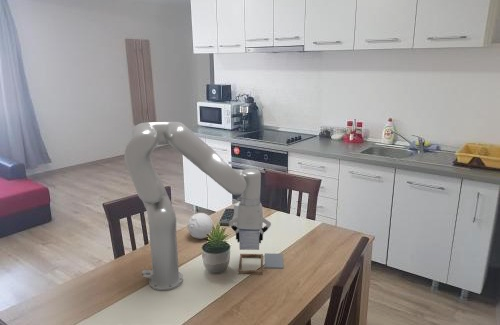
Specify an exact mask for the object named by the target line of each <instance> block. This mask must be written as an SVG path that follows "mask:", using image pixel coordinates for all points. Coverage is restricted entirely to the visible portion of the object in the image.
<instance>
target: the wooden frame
mask: <svg viewBox="0 0 500 325" xmlns="http://www.w3.org/2000/svg"><path fill="white" fill-rule="evenodd" d="M263 257H264V254H263V253H240V256H239V260H238V261H239V262H238V268H237V269H238V270H237V272H238V273H237V274H238V275H240V276H241V275H243V276H244V275H245V276H247V275H249V276H253V275H254V276H262V275H264V272H263V269H264V258H263ZM243 259H260V270H259V269H258V270H256V269H255V270H253V269H252V270H250V269H249V270H248V269H242V263H243V261H242V260H243Z"/></svg>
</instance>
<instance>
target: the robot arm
mask: <svg viewBox="0 0 500 325" xmlns="http://www.w3.org/2000/svg"><path fill="white" fill-rule="evenodd" d="M159 145H160V146H161V145H163V146H164V145H170V146H171V147H172V148H173V149H175V150H176V151H177V152H178V153H179V154H181V155H182V156H183V157H185V158H186V159H187V160H188V161H189V162H191V163H192V164H193V165H194V166H196V167H197V168H198V169H199V170H200V171H201V172H203V173H205V175H207V176H208V177H209V178H210V179H212V180H213V181H214V182H215V183H217V184H218V185H219V186H220V187H222V189H224V190H225V191H226V192H227V193H229V194H230V195H233V196H237V197H236V201H238V202H240V203H239V205H238V211H237V217H235V218H234V217H233V218H232V219H230V220H228V225H229V227H231V229H232V230H233V231H234V232H235V240H237V243H239V230H240V229H246V230H259V244H262V241H263V240H264V234H265V233H266V232H267V231H268V229H269V228H270V227H271V226H272V222H270V221H269V220H268V219H266V218H265V217H263V216H264V215H263V214H264V212H263V211H264V210H263V205H262V203H261V187H262V186H261V184H262V183H261V182H262V180H261V178H262V174H261V171H260V170H259V169H257V168H245V169H239V168H237V169H236V168H233V167H232V166H231V165H229V163H227V162H226V161H225V160H224V159H223V158H222V157H221V156H220V154H218V153H217V152H216V151H215V150H214V149H213V147H211V146H209V145H208V143H206V142H205V141H204V140H202V139H201V137H199V136H198V134H195V133H194V132H193V130H191V129H190V128H189V127H187V126H186V125H185V124H184V123H183V122H180V121H156V122H155V121H153V122H151V121H150V122H141V123H138V124H137V125H135V126H134V127H133V129H132V132H131V138H130V139H129V141H128V143H127V144H126V146H125V149H124V164H125V165H126V166H125V167H126V168H127V171H128V173H129V175H130V178H131V181H132V183H133V185H134V186H133V187H134V188H135V190H136V194H137V196H138V198H139V199H140V200H141V201H142V203H143V206H144V208H145V210H146V216H147V220H148V227H149V228H148V229H149V243H150V245H149V246H150V253H151V254H150V255H151V266H152V269H143V270H142V272H141V273H142V274H141V275H142V276H143V279H149V280H148V281H149V282H148V283H149V287H150V288H152V289H154V291H155V290H156V291H159V292H164V291H171V290H174V289H176V288H178V287H179V286H180V285H182V283H183V282H184V275H183V274H182V272H180V271H179V258H178V257H179V256H178V254H179V253H178V238H177V214H176V212H175V209H174V206H173V204H172V201H171V198H170V196H169V195H168V192H167V190H166V188H165V185H164V182H163V180H162V178H161V176H160V175H159V174H158V173H157V170H156V168H155V165H154V163H153V160H152V154H153V151H154V150H155V149H156V148H157V147H158V146H159ZM236 221H237V227H236V226H235V224H234V222H236ZM263 224H265V226H264V225H263Z"/></svg>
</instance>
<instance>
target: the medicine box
mask: <svg viewBox="0 0 500 325" xmlns="http://www.w3.org/2000/svg"><path fill="white" fill-rule="evenodd" d="M259 232H260V231H259V230H246V229H240V230H239V242H238V243H239V250H243V251H245V250H246V251H256V250H257V251H259V250H260V243H259Z"/></svg>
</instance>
